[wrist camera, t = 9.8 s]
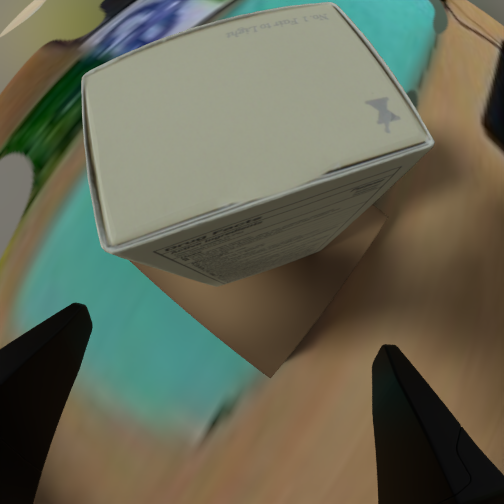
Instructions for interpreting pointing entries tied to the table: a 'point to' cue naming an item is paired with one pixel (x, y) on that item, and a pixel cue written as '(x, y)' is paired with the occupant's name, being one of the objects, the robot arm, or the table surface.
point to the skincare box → (244, 142)
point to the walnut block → (273, 296)
